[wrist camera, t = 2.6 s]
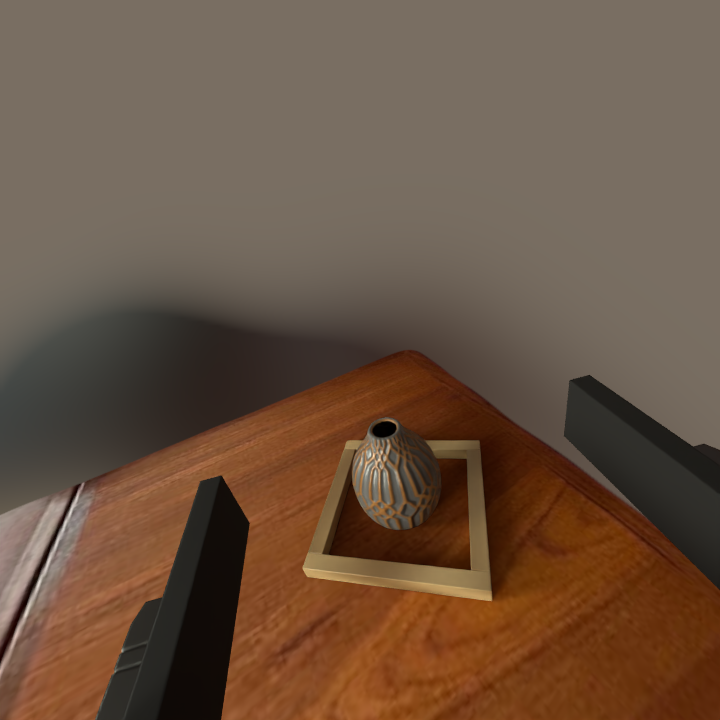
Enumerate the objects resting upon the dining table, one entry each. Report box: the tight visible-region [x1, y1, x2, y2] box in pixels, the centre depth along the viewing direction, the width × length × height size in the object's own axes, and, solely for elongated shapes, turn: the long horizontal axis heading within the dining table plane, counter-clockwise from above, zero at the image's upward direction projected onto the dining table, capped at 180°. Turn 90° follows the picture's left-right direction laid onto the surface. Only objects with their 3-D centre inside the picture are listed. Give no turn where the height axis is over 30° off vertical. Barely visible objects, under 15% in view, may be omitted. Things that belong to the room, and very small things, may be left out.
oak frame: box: [303, 440, 493, 601], centre depth 29 cm, size 13×13×1 cm
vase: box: [352, 417, 441, 530], centre depth 27 cm, size 7×7×9 cm
